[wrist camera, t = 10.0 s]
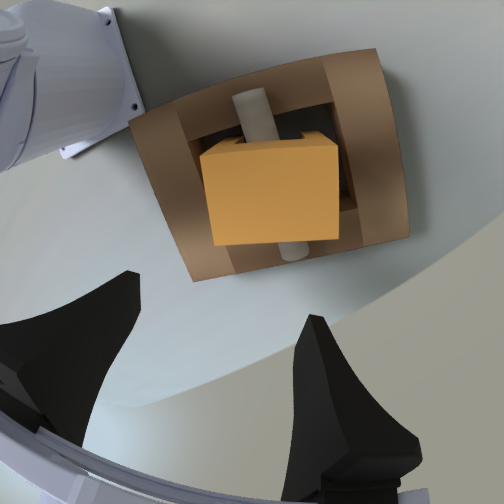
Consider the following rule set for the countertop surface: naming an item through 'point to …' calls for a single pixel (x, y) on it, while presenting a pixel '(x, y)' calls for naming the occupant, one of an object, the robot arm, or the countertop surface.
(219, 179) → the orange notched block
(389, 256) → the countertop surface
